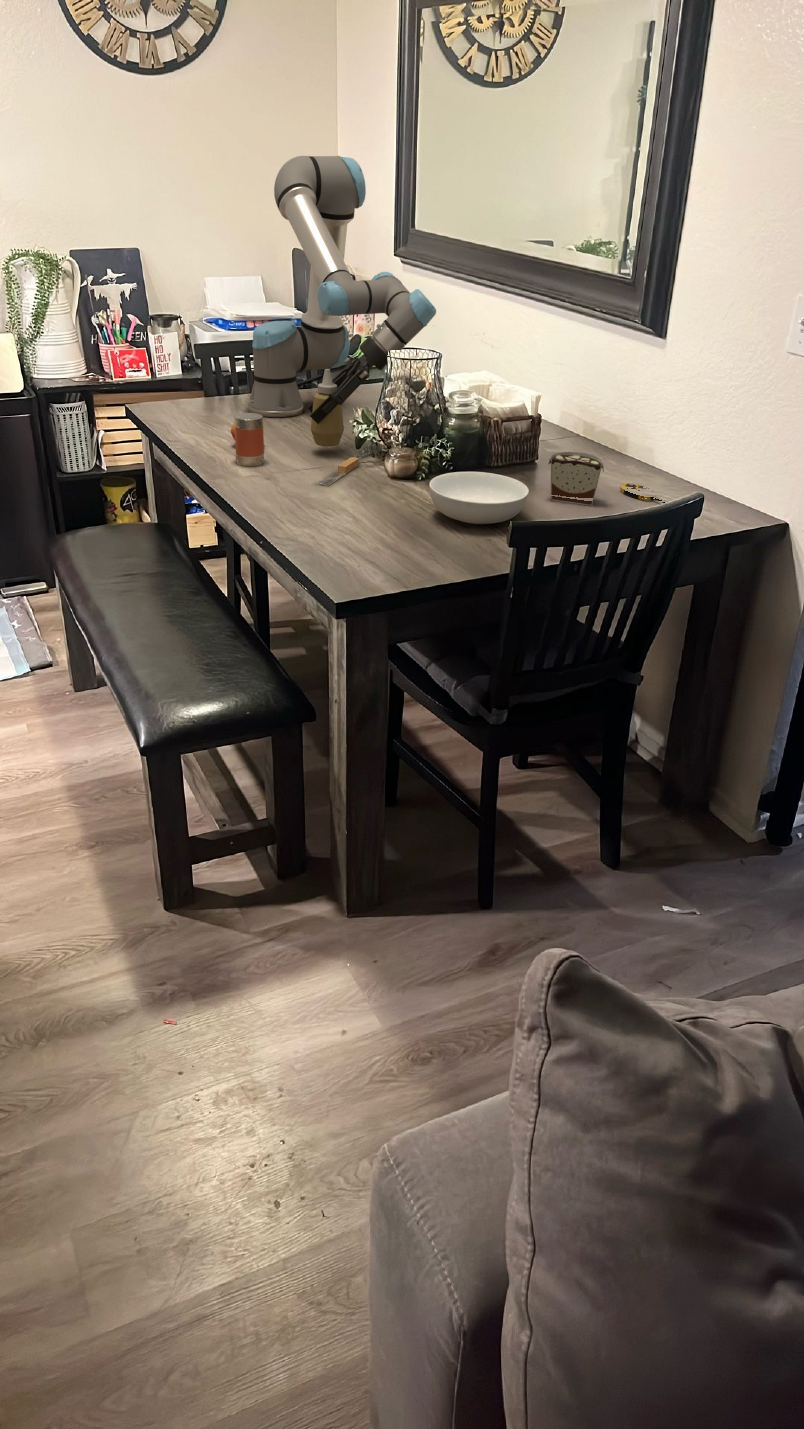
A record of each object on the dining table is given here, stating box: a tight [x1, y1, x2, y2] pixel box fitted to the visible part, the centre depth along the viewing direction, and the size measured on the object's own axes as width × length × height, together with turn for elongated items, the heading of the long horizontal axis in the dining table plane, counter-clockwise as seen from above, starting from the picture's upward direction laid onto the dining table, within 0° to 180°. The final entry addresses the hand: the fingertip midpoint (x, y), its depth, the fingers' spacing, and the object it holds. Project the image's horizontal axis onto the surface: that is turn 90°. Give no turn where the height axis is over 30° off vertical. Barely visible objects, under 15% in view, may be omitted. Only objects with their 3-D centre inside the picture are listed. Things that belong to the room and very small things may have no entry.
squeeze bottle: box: [310, 368, 345, 448], centre depth 259 cm, size 8×8×18 cm
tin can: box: [233, 412, 265, 467], centre depth 252 cm, size 7×7×11 cm
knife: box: [318, 456, 360, 487], centre depth 249 cm, size 18×2×2 cm, turn 159°
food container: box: [547, 451, 605, 507], centre depth 237 cm, size 12×6×10 cm, turn 71°
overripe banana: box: [619, 482, 665, 504], centre depth 241 cm, size 5×2×15 cm
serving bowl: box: [428, 471, 530, 525], centre depth 225 cm, size 21×21×7 cm
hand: (312, 416), depth 259 cm, fingers closed on squeeze bottle, 6 cm apart
